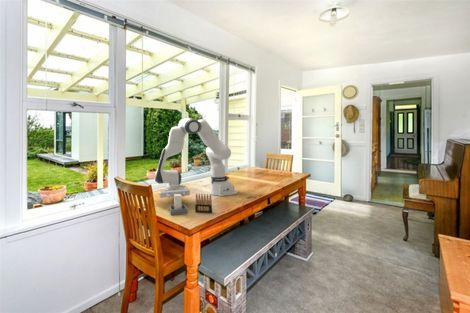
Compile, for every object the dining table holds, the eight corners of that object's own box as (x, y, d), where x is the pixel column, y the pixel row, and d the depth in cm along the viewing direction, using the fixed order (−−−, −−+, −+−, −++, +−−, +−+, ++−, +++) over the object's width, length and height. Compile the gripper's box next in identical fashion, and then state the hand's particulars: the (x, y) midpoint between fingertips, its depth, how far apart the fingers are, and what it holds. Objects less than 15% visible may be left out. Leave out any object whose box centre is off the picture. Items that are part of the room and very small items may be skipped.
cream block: (180, 209, 161) (180, 193, 160) (181, 211, 157) (181, 195, 156) (174, 209, 160) (173, 194, 159) (175, 211, 156) (174, 196, 155)
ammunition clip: (195, 212, 158) (194, 193, 156) (196, 211, 160) (195, 192, 158) (211, 213, 156) (211, 194, 155) (212, 212, 158) (212, 193, 156)
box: (184, 208, 165) (184, 204, 165) (187, 213, 156) (187, 208, 155) (169, 210, 162) (169, 205, 161) (170, 215, 152) (170, 210, 152)
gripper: (158, 187, 174) (159, 192, 161) (187, 185, 181) (191, 189, 168) (158, 196, 174) (160, 202, 162) (187, 194, 182) (191, 198, 169)
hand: (176, 195), depth 165 cm, fingers open, 8 cm apart
